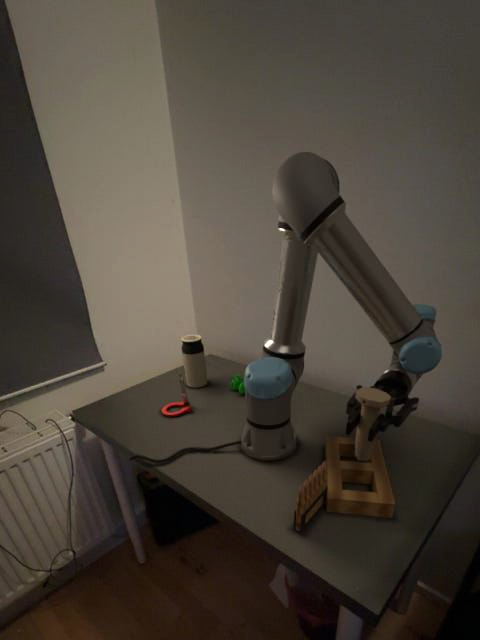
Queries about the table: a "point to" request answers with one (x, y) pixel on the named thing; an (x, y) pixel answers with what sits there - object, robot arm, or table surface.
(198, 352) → the travel mug
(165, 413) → the tow hook
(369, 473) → the rack
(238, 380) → the green lumpy cluster
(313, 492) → the ammunition clip
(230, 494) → the table surface
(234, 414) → the table surface
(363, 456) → the handle
